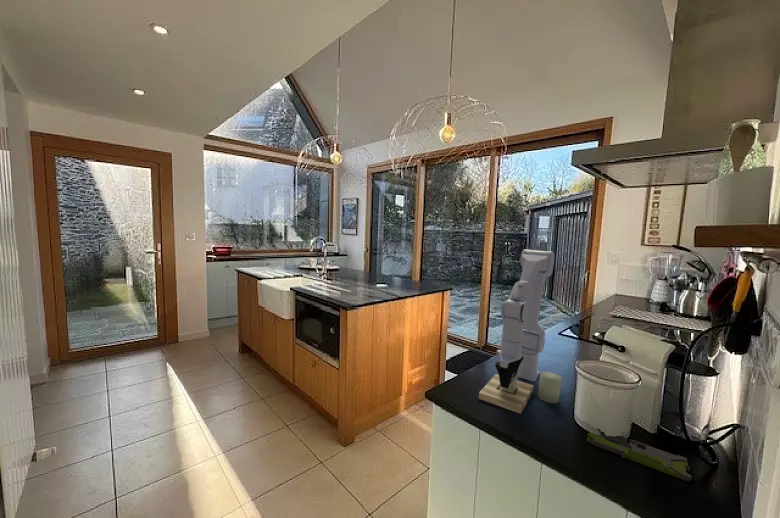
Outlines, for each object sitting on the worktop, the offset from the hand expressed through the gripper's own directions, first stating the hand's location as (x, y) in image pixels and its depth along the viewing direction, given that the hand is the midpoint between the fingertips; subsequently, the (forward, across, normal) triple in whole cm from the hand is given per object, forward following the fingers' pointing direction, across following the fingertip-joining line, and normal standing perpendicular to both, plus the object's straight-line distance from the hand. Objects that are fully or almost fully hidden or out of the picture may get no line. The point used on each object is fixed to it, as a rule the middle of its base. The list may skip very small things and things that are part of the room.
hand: (507, 382), depth 100 cm
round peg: (+4, -6, +10) cm, 13 cm away
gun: (+5, +4, +32) cm, 32 cm away
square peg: (+4, 0, 0) cm, 4 cm away
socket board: (+4, 0, 0) cm, 4 cm away
